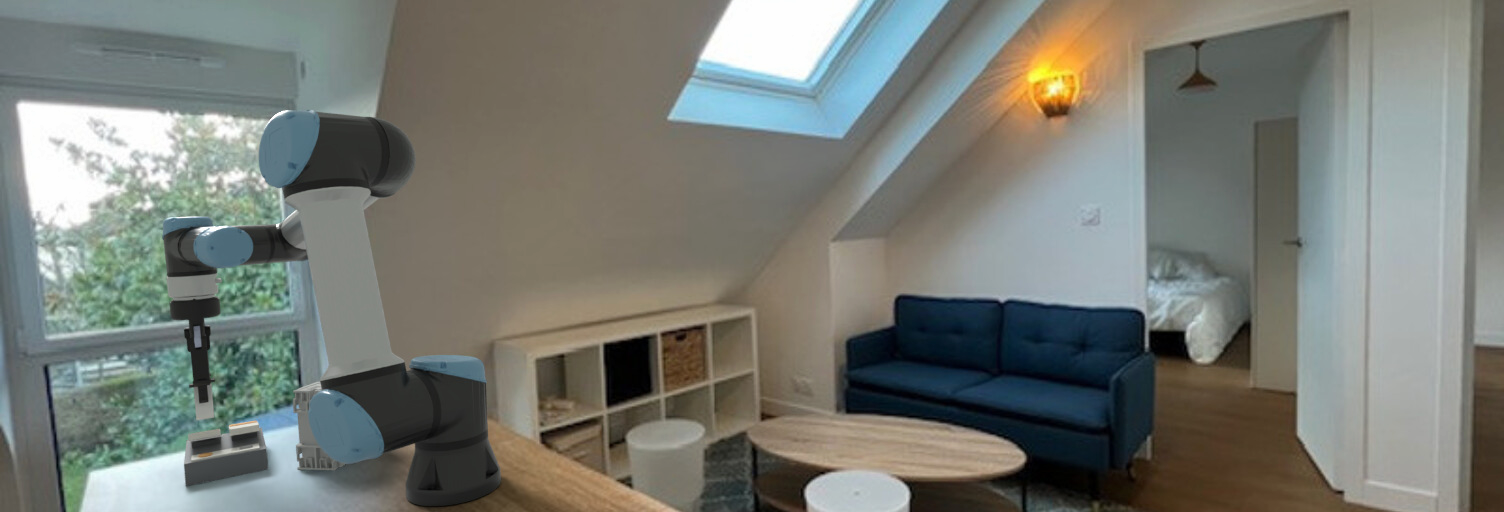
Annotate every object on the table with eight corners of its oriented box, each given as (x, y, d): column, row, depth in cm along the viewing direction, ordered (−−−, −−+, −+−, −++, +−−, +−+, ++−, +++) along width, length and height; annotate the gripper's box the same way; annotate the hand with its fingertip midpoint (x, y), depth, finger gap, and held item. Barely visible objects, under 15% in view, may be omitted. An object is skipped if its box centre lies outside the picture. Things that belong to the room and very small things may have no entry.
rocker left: (220, 435, 130) (219, 427, 130) (188, 440, 127) (188, 433, 128) (220, 435, 138) (220, 428, 138) (190, 440, 135) (190, 433, 135)
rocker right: (259, 430, 134) (258, 423, 134) (229, 436, 131) (229, 428, 131) (257, 426, 142) (257, 420, 142) (229, 431, 139) (228, 425, 139)
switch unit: (267, 469, 131) (266, 443, 130) (185, 486, 124) (183, 459, 123) (263, 446, 143) (261, 423, 143) (188, 460, 136) (186, 435, 136)
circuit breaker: (382, 443, 144) (378, 372, 143) (334, 470, 130) (329, 391, 129) (348, 443, 145) (344, 372, 144) (297, 469, 131) (292, 390, 129)
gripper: (219, 298, 131) (230, 421, 132) (219, 292, 141) (229, 407, 143) (167, 302, 126) (179, 430, 128) (170, 296, 136) (181, 414, 138)
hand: (205, 418), depth 135 cm, fingers closed
